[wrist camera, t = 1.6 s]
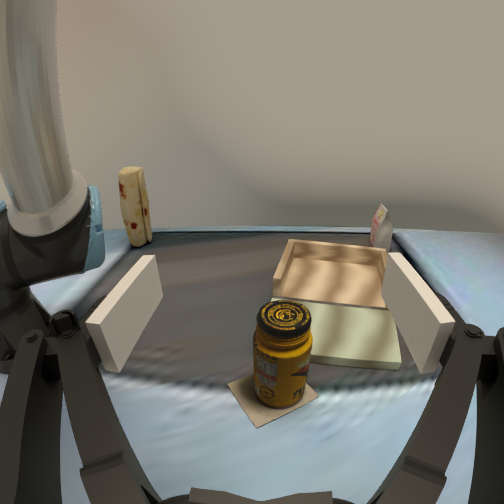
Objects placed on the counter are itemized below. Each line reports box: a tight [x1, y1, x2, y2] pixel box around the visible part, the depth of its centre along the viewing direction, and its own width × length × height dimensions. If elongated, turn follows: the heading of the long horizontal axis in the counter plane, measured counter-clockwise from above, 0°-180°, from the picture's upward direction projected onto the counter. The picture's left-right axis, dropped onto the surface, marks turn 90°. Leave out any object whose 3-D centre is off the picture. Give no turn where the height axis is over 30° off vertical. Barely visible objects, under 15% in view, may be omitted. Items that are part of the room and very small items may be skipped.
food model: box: [119, 166, 152, 247], centre depth 69 cm, size 10×7×20 cm
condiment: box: [227, 300, 319, 428], centre depth 30 cm, size 7×8×12 cm
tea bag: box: [370, 204, 393, 252], centre depth 67 cm, size 4×7×10 cm, turn 170°
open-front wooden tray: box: [271, 239, 401, 370], centre depth 47 cm, size 20×28×5 cm
